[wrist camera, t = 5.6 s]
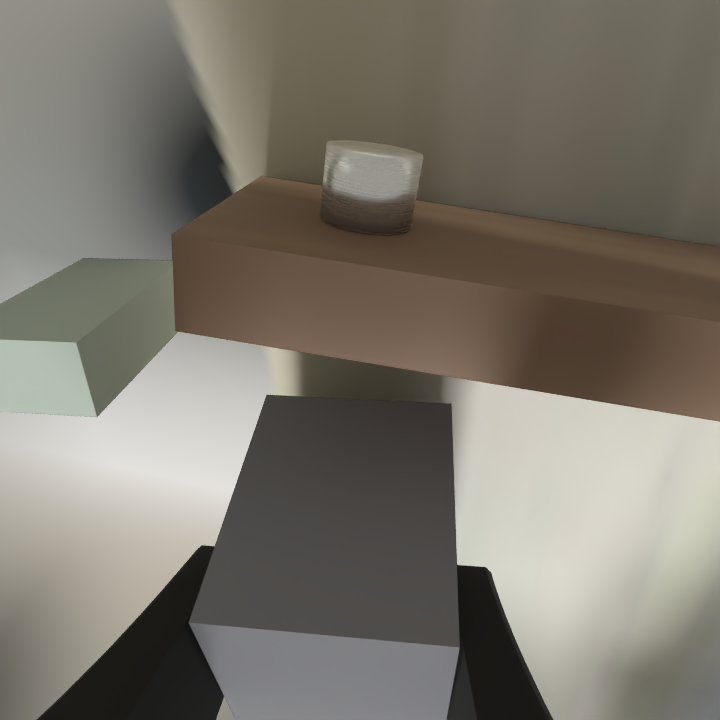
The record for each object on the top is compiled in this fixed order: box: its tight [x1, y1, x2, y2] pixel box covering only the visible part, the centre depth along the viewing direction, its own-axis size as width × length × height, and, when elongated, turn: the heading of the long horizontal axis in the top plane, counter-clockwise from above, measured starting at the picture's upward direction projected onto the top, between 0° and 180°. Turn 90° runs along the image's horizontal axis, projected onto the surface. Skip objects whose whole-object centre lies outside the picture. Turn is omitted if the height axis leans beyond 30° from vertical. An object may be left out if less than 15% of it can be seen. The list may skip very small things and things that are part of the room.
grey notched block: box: [189, 395, 460, 720], centre depth 12 cm, size 8×4×5 cm, turn 1°
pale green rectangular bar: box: [0, 258, 178, 417], centre depth 11 cm, size 2×22×4 cm, turn 91°
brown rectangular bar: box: [172, 140, 720, 421], centre depth 10 cm, size 3×14×5 cm, turn 83°
